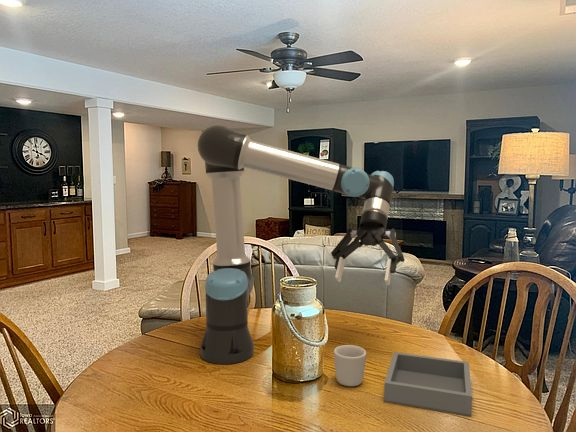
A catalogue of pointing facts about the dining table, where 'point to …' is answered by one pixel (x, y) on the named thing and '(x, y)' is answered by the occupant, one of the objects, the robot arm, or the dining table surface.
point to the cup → (349, 364)
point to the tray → (429, 383)
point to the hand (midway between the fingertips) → (361, 281)
